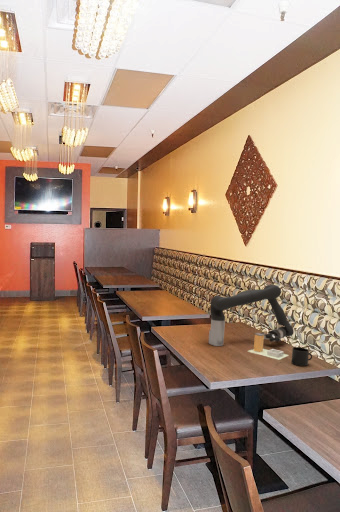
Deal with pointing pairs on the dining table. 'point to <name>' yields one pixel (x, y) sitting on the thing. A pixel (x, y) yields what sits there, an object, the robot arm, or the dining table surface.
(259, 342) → the orange cylinder
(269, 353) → the pale green base plate
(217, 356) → the dining table surface
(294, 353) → the mug
